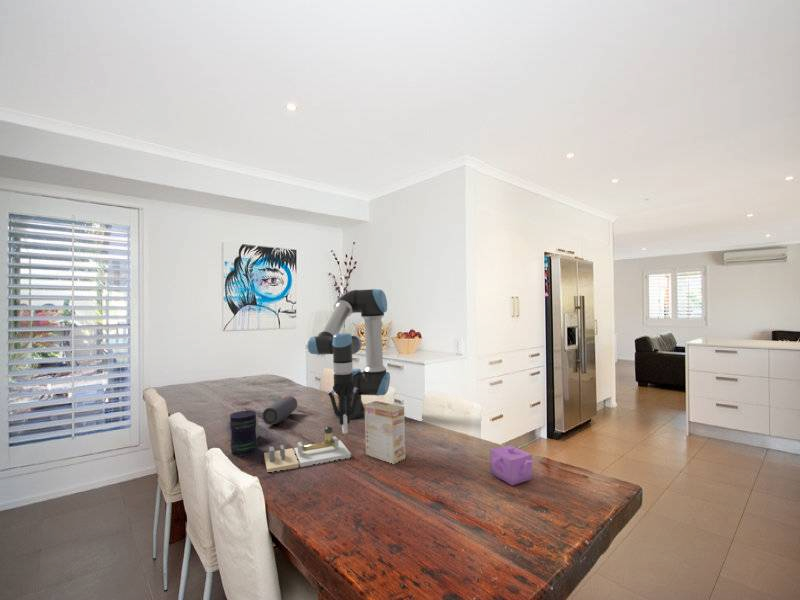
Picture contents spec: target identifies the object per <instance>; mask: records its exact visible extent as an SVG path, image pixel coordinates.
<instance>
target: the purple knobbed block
mask: <svg viewBox="0 0 800 600" xmlns="http://www.w3.org/2000/svg"><path fill="white" fill-rule="evenodd" d="M489 453H490V454H489V457H490V474H491V475H493V476H495V477H497V479H500V480H501V481H504V482H505V483H507V484H508V485H510V486H515V485H518V484H522V483H525V482H527V481H528V482H529V481H531V480H533V463H534V461H533V456H532V454H530V453H528V452H527V451H524V450H523V449H519V448H517V447H515V446H513V445H510V444H508V445H505V446H501V447H493V449H490V450H489Z"/></svg>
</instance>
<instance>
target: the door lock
mask: <svg viewBox="0 0 800 600" xmlns="http://www.w3.org/2000/svg"><path fill="white" fill-rule="evenodd" d="M333 441H335V446H332V447H326V448H321V449H315V450H309V451H303V446H304V445H303V444H302V441H298V442H297V447H294V448H293V447H292V448H287V449H286V448H285V445H284V444H280V445H279V450H275V448H274V446H268V452H264V453H263V456H264V457H263V458H264V463H265V467H266V473H267V472H272V473H275V472H274V471H277V472H281V471H280V470H283V471H287V469H288V470H293V469H298V467H299V468H303V467H304V468H305V467H307V466H314V465H313V464H315V465H320V464H323V463H324V462H325V463H329V461H330V462H335V461H334V460H336V461H339V460H338V459H341V460H346V459H350V457H351V458H352V453H351V452H350V450H349V449H348V448H347V447H346V445H345V444H344V442H343V441H341V439H338V438H337V436H336V435H334V436H333ZM295 454H296V455H295ZM345 458H346V459H345ZM297 459H298V460H297ZM319 463H320V464H319Z"/></svg>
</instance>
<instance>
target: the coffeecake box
mask: <svg viewBox="0 0 800 600" xmlns="http://www.w3.org/2000/svg"><path fill="white" fill-rule="evenodd" d="M364 408H365V415H364V434H365V436H364V437H365V455H366V456H368V457H369V456H370V457H372V458H375V459H378V460H381V461H383V462H385V461H386V463H388V462H389V463H388V464H391V463H392V464H391V465H396V464H397V463H399V461H400V462H401V460H402V461H404V460H406V459H405V458H406V433H405V432H406V431H405V430H406V428H405V406H403V405H398V404H397V405H396V404H393V403H389V402H383V401H379V400H375V401H372V402H369V403H365V404H364ZM403 459H404V460H403Z"/></svg>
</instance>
